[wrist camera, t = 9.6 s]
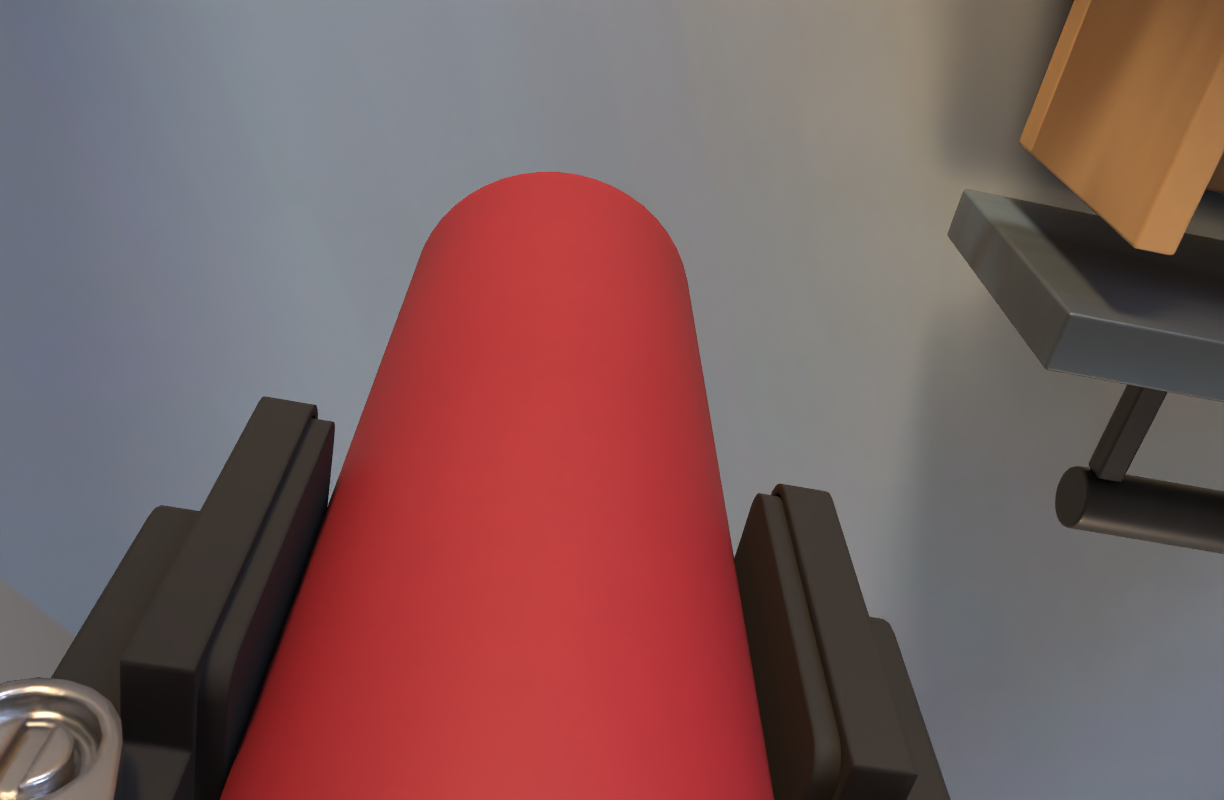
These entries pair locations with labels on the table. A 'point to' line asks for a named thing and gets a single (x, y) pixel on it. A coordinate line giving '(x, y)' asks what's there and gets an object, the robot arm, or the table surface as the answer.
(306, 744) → the candle
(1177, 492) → the drawer
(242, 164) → the table surface
